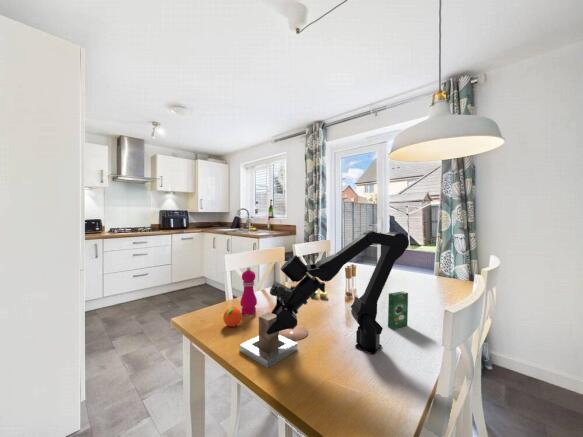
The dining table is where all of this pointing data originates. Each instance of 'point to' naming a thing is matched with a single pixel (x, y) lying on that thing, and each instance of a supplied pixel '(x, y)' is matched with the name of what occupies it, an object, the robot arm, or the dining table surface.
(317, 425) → the dining table surface
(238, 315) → the clementine
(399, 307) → the coffee box
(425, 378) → the dining table surface
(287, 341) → the metal collar stand
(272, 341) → the walnut block
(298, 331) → the terracotta coaster
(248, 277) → the pepper mill
